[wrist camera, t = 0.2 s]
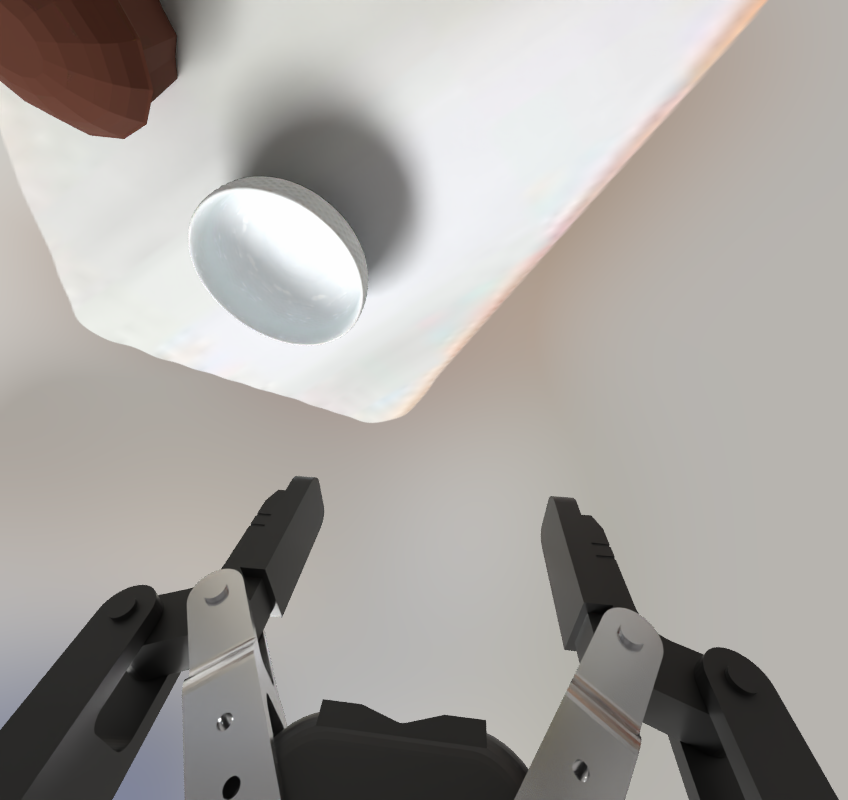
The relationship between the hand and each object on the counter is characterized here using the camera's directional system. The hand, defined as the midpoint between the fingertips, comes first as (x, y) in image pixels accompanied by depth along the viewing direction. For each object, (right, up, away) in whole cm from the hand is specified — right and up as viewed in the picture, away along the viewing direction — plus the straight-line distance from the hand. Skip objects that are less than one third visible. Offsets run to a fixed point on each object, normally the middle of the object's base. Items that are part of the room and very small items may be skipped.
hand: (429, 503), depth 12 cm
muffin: (-23, +32, +14) cm, 42 cm away
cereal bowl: (-14, +21, +27) cm, 36 cm away
